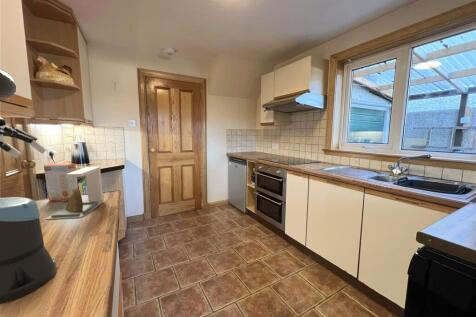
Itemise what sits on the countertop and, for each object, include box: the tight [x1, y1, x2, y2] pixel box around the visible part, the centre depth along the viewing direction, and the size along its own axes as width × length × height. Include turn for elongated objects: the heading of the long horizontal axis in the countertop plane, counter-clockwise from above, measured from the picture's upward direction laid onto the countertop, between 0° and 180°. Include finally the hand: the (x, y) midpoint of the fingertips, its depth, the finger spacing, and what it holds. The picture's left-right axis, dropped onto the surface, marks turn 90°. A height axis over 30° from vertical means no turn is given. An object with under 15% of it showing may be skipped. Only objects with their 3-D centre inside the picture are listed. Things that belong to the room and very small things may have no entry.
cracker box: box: [43, 163, 79, 202], centre depth 116 cm, size 14×6×21 cm, turn 84°
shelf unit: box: [44, 166, 105, 221], centre depth 102 cm, size 21×15×20 cm
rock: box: [64, 189, 84, 212], centre depth 101 cm, size 11×9×10 cm
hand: (32, 153), depth 92 cm, fingers open, 13 cm apart
